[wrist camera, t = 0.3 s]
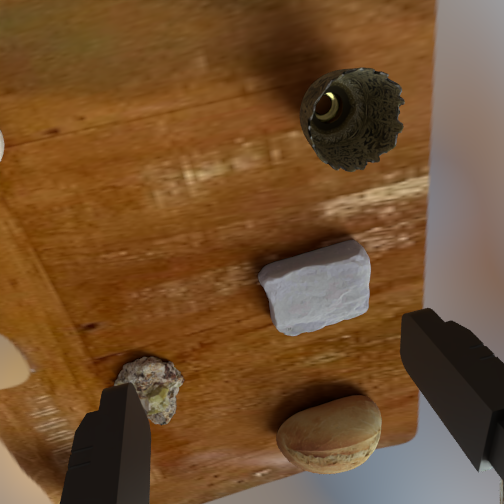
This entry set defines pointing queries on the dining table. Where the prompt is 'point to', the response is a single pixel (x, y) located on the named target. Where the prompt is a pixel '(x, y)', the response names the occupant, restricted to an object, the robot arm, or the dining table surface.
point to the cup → (352, 117)
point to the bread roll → (331, 435)
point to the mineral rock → (153, 386)
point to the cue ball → (1, 145)
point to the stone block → (317, 287)
